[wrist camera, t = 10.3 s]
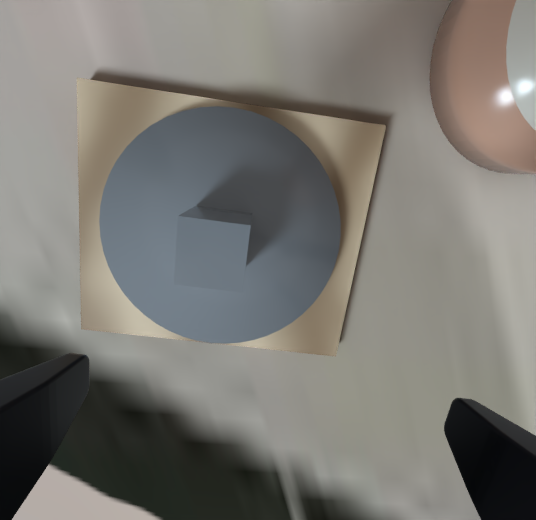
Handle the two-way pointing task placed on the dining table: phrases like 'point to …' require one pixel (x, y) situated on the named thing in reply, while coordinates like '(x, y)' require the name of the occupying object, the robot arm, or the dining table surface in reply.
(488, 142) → the bowl
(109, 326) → the board
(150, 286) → the lid
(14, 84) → the dining table surface
